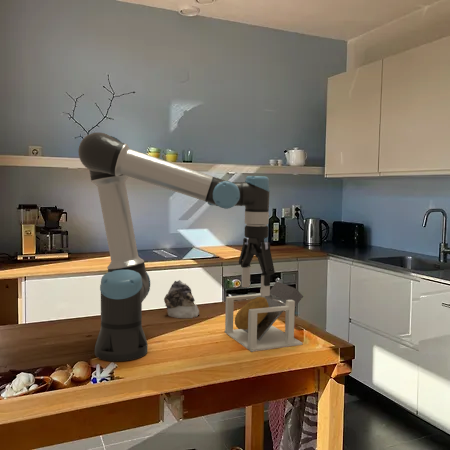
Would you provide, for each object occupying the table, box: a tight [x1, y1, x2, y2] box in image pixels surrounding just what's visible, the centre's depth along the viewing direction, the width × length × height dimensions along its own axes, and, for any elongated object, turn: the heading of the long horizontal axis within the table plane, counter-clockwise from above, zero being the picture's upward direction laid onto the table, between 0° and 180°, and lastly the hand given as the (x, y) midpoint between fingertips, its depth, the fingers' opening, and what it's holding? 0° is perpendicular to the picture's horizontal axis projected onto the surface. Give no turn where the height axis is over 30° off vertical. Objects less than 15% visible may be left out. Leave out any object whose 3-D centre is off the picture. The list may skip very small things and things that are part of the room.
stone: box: [163, 279, 200, 319], centre depth 179 cm, size 14×10×15 cm
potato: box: [234, 297, 269, 330], centre depth 153 cm, size 9×13×7 cm
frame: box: [224, 288, 304, 353], centre depth 154 cm, size 18×20×14 cm
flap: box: [242, 281, 304, 341], centre depth 155 cm, size 20×14×4 cm
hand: (255, 291), depth 152 cm, fingers open, 13 cm apart
